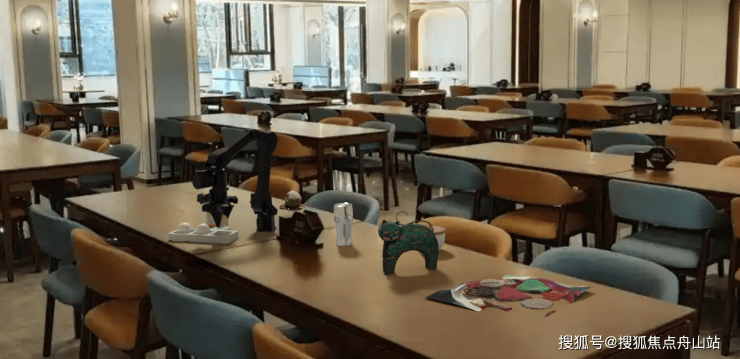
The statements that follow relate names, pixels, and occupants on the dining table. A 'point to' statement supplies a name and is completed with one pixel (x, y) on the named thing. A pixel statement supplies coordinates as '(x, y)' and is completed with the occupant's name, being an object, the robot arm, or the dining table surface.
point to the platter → (508, 293)
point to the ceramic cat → (407, 243)
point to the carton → (202, 234)
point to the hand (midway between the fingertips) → (221, 225)
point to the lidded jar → (439, 234)
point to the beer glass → (343, 223)
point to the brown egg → (223, 221)
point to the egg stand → (221, 228)
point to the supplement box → (210, 219)
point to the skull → (292, 201)
